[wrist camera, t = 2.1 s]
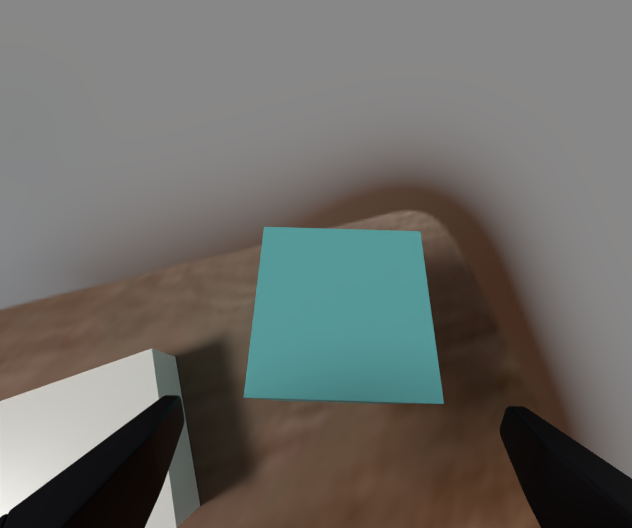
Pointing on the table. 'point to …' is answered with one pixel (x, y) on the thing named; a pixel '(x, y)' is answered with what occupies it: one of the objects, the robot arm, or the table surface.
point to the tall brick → (343, 319)
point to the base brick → (91, 430)
